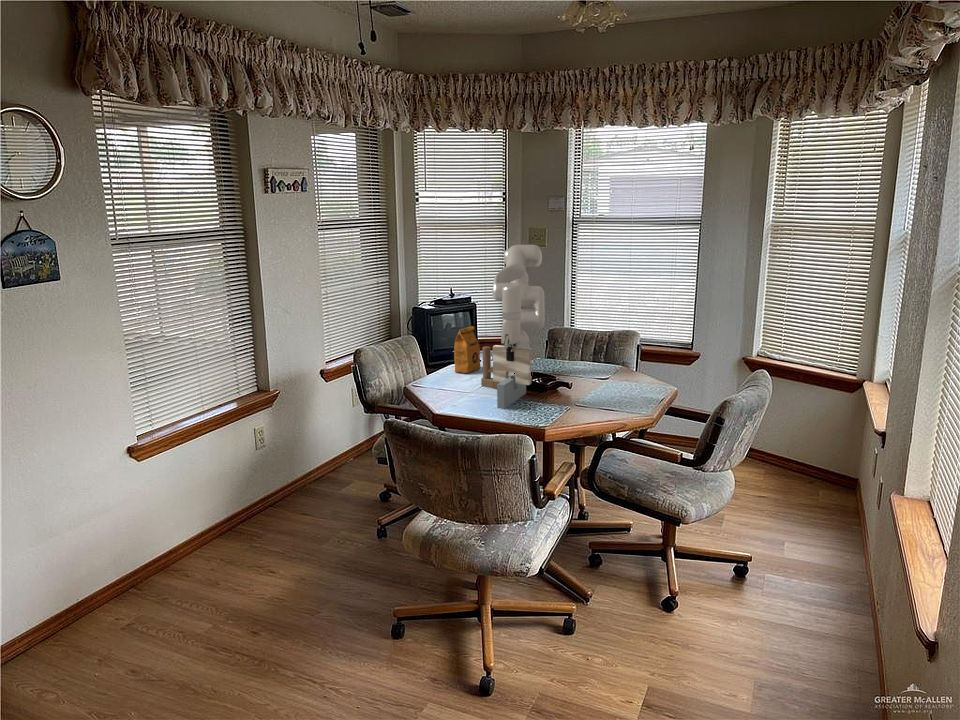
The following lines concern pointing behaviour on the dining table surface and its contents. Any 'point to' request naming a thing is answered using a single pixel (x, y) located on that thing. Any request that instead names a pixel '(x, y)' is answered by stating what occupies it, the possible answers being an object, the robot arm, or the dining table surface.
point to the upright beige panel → (512, 364)
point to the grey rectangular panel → (509, 392)
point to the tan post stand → (487, 369)
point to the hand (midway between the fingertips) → (511, 359)
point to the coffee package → (466, 351)
